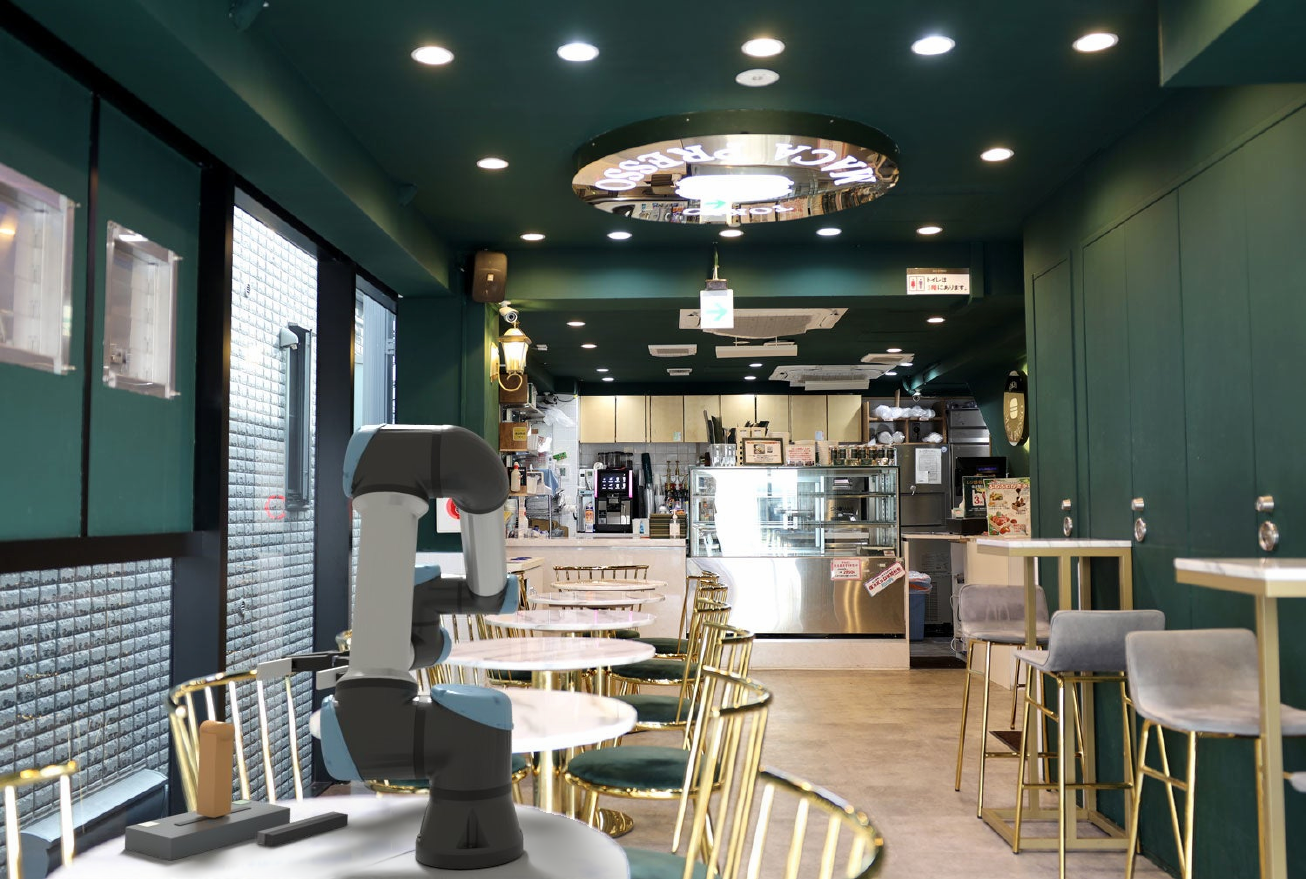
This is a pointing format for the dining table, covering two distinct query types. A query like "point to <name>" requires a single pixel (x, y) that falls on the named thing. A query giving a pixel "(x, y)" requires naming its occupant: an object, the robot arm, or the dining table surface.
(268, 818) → the base
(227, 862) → the dining table surface
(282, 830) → the grooved grey bar
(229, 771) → the handle
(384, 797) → the dining table surface
